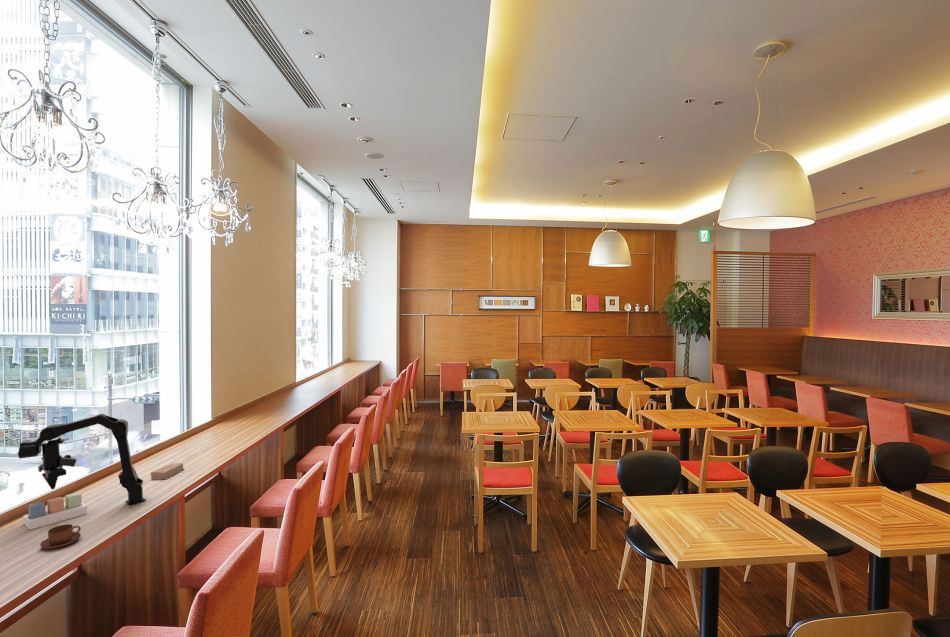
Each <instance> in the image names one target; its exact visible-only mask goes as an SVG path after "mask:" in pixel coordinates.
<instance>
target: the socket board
mask: <svg viewBox="0 0 950 637" xmlns="http://www.w3.org/2000/svg"><path fill="white" fill-rule="evenodd" d="M45 511H46V515H45V516H42V517H38V518H34V519H31V520H30V519H29V514H24V515H23V525H24V526H25V527H26V528H27V529H28V530H34V529H37V528H40V527H44V526H47V525H51V524H55V523H58V522H62V521H65V520H68V519H72V518H76V517H79V516H83V515H87V514H88V505H86V504H85V503H84V502H82V506H78V507H74V508H71V509H67V508H66V504H64V511H60V512H56V513H53V514H49V513H48V508H47V509H45Z"/></svg>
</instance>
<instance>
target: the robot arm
mask: <svg viewBox="0 0 950 637" xmlns="http://www.w3.org/2000/svg"><path fill="white" fill-rule="evenodd" d="M95 425H100V426H102V427H104V428H105V429H108V430H111V432H112V435H113V437H114V439H115V440H116V443H117V448H118V454H119V459H120V464H121V471H119V474H118V476H117V478H118V479H119V485H121V487H123V488H124V489H126V492H127V500H125V503H126V504H128V505H129V506H131V505H135V504H138V503H143V502H145V501H147V499H146V498H144V495H143V494H144V491H143V488H144V487H143V484H144V480H143V479H141V478H140V477H139V476H138V474H137V473H138V472H136V469H135V467H134V466H133V461H132V456H131V452H130V451H131V450H130V446H129V440H128V435H129V423H128V421H127V420H125V419H123V418H120V419H119V418H117V417H113V416H109V415H106V414H105V413H99V414H97V415H94V416H90V417H86V418H83V419H79V420H75V421H71V422H68V423H58V424H50V425H47V426H46V427H45V428H43V429H41V431H40V432H39V437H38V438H37V439H36V440H34V441H33V440H32V441H23V442H20V443H19V448H18V452H17V456H18V459H28V458H35V457H38V456H39V454H42V457H41V461H42V463H41V464H39V465H38V466H37V469H38V470H37V471H38V472H39V473H41V472H42V471H43V473H41V476H42V478H43V479H44V480H45V482H46V484H48V486H49V488H50V489H51V490H55V489H56V485H57V482H58V478H59V477H62V476H65V475H67V470H66V469H65V468H64V467H63V466H65V467H73V468H74V467H75V465H76V463H77V460H78V459H77V458H75V457H72V456H71V455H70V454H65V455H64V456H62V455H61V454H60V444H63V443H65V440H66V439H63V438H61V436H63V435H65V434H67V433H71V432H74V431H78V430H81V429H84V428H88V427H92V426H95ZM56 438H57V439H56ZM47 441H48V442H47Z"/></svg>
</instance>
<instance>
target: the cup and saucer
mask: <svg viewBox="0 0 950 637" xmlns="http://www.w3.org/2000/svg"><path fill="white" fill-rule="evenodd" d="M76 528H77V529H78V530H76V531H73V530H75V529H76ZM81 529H82V528H81V526H79V525H75V526H73V524H68V523H67V524H61V525H57V526H55V527H51V528H49V530H48V531H47V538H46V539H44V540H42V541H41V542H40V543H39V546H40V547H41V548H43V549H46V550H49V549H50V550H51V549H58V548H62V547H64V546H65V547H66V546H68V545H70V544H74V543H75V542H76V541H77V540H79V538H81V533H80V532H81Z"/></svg>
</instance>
